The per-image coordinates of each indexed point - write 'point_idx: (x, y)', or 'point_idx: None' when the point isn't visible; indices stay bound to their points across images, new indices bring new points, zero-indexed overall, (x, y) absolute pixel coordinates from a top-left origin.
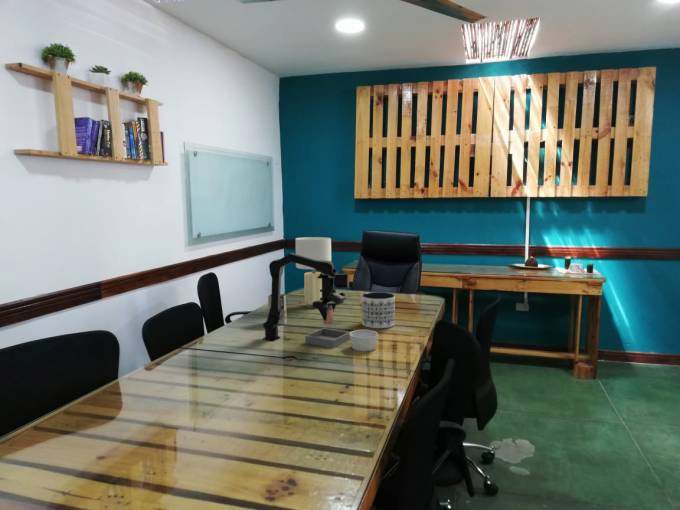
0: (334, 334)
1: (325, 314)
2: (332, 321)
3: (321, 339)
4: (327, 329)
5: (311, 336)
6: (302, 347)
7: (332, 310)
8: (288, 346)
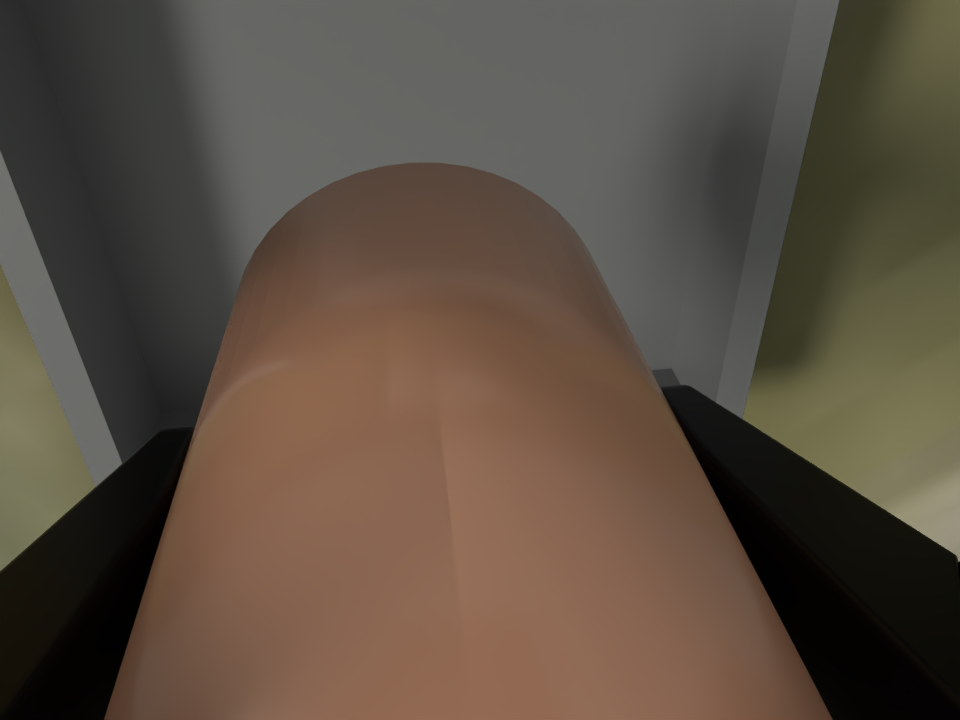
0: (72, 198)
1: (954, 558)
2: (396, 197)
3: (802, 95)
4: (103, 405)
5: (737, 356)
6: (908, 286)
7: (396, 650)
8: (901, 453)
